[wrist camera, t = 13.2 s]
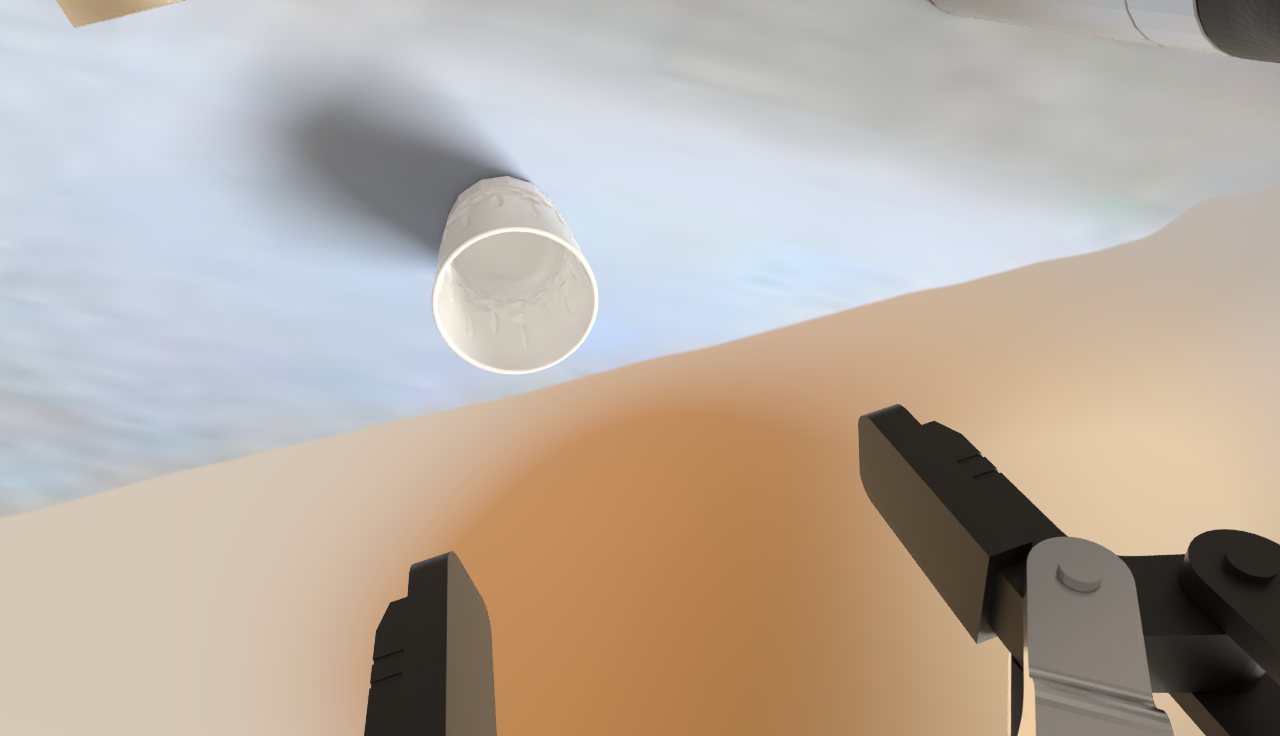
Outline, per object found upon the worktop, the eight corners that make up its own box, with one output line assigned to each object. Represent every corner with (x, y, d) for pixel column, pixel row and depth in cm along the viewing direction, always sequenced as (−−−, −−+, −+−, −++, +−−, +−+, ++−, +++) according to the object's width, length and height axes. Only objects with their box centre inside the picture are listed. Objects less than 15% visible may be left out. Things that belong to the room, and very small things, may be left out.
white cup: (586, 187, 40) (620, 252, 32) (548, 302, 43) (570, 386, 35) (453, 147, 37) (452, 205, 29) (424, 273, 40) (415, 358, 32)
